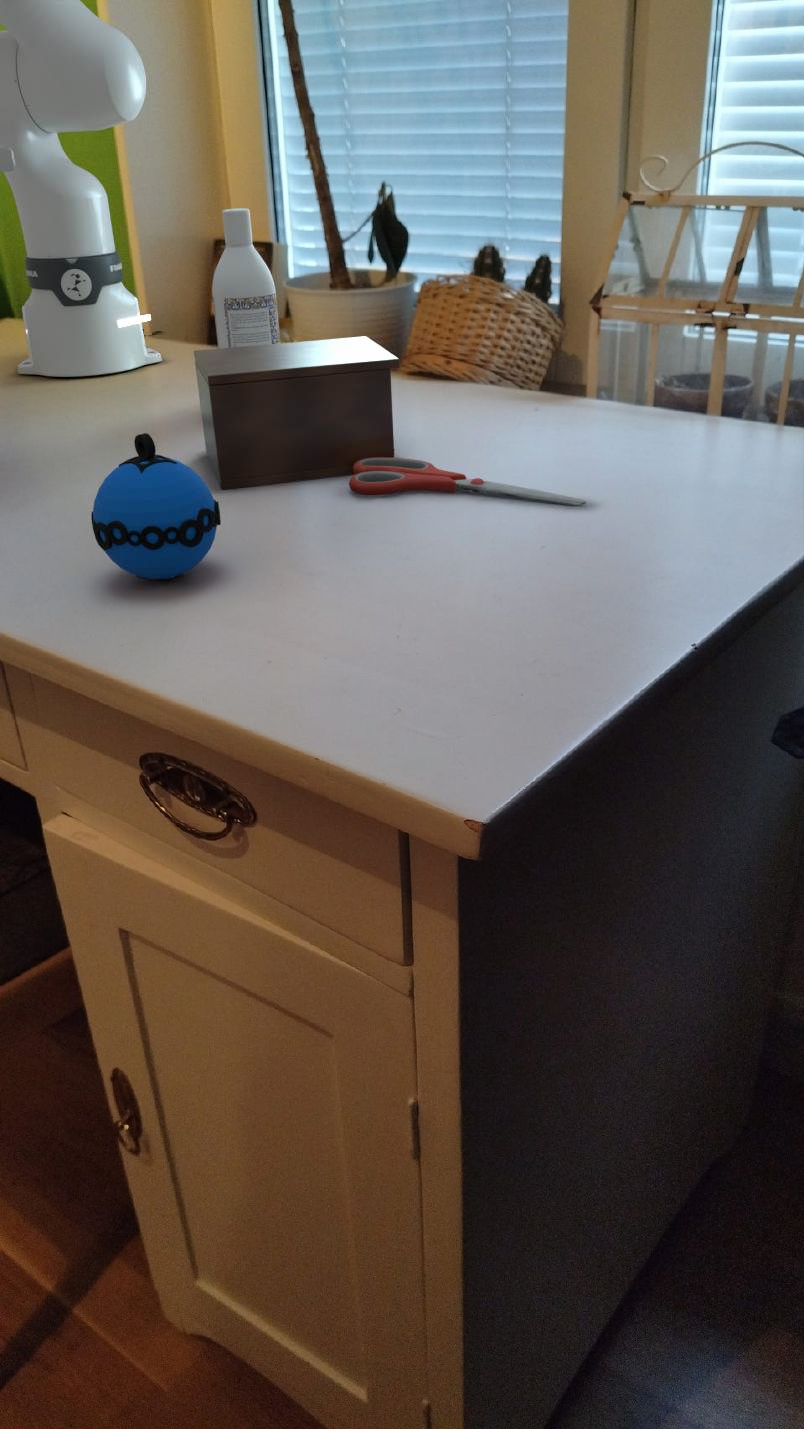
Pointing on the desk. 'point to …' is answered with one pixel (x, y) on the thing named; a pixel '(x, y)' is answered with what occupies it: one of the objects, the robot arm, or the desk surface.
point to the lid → (293, 360)
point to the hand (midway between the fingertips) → (13, 158)
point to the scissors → (432, 481)
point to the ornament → (154, 515)
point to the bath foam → (243, 289)
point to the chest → (295, 426)
